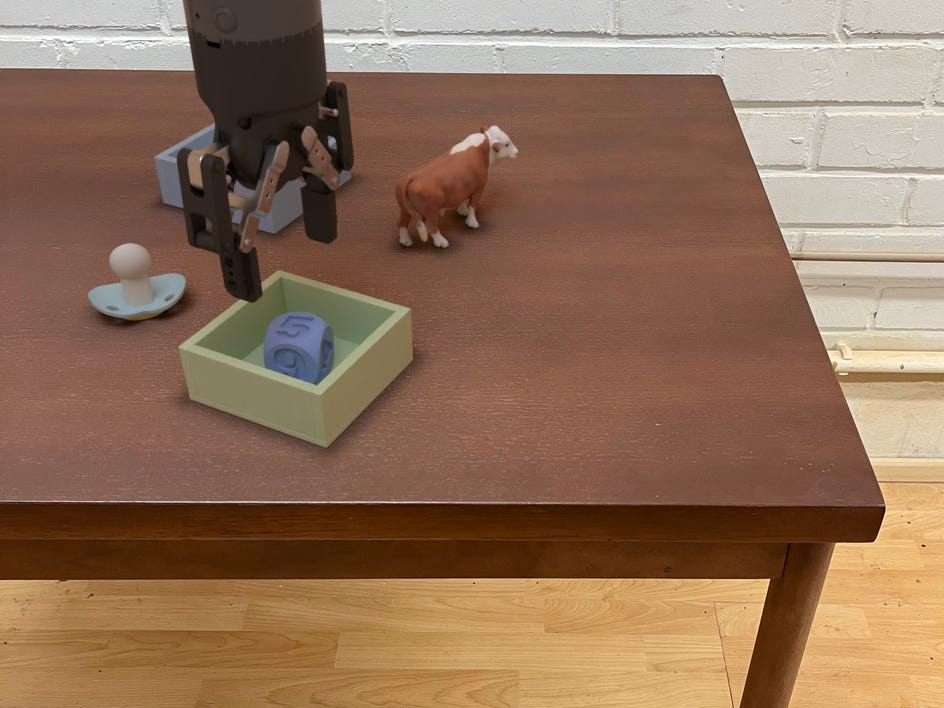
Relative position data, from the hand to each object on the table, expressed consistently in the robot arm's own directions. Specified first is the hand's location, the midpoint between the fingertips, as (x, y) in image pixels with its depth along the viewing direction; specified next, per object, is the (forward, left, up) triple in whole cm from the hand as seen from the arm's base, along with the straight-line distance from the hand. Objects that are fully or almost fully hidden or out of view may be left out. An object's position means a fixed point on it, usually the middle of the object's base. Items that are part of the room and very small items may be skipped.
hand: (285, 267), depth 67 cm
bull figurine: (-1, +25, -9) cm, 27 cm away
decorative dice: (0, 0, -9) cm, 9 cm away
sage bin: (0, 0, -9) cm, 9 cm away
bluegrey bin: (-21, +23, -9) cm, 33 cm away
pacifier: (-17, +2, -9) cm, 19 cm away
